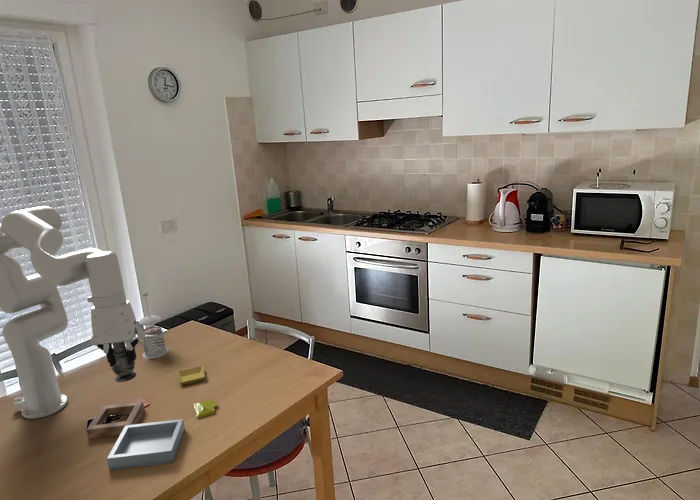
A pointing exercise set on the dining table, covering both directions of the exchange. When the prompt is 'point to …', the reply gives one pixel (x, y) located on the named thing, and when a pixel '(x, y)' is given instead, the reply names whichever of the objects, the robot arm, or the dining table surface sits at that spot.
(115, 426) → the hollow square frame
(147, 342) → the french press
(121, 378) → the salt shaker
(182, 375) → the yellow shallow rimmed piece
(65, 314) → the robot arm
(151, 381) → the dining table surface
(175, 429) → the tray
